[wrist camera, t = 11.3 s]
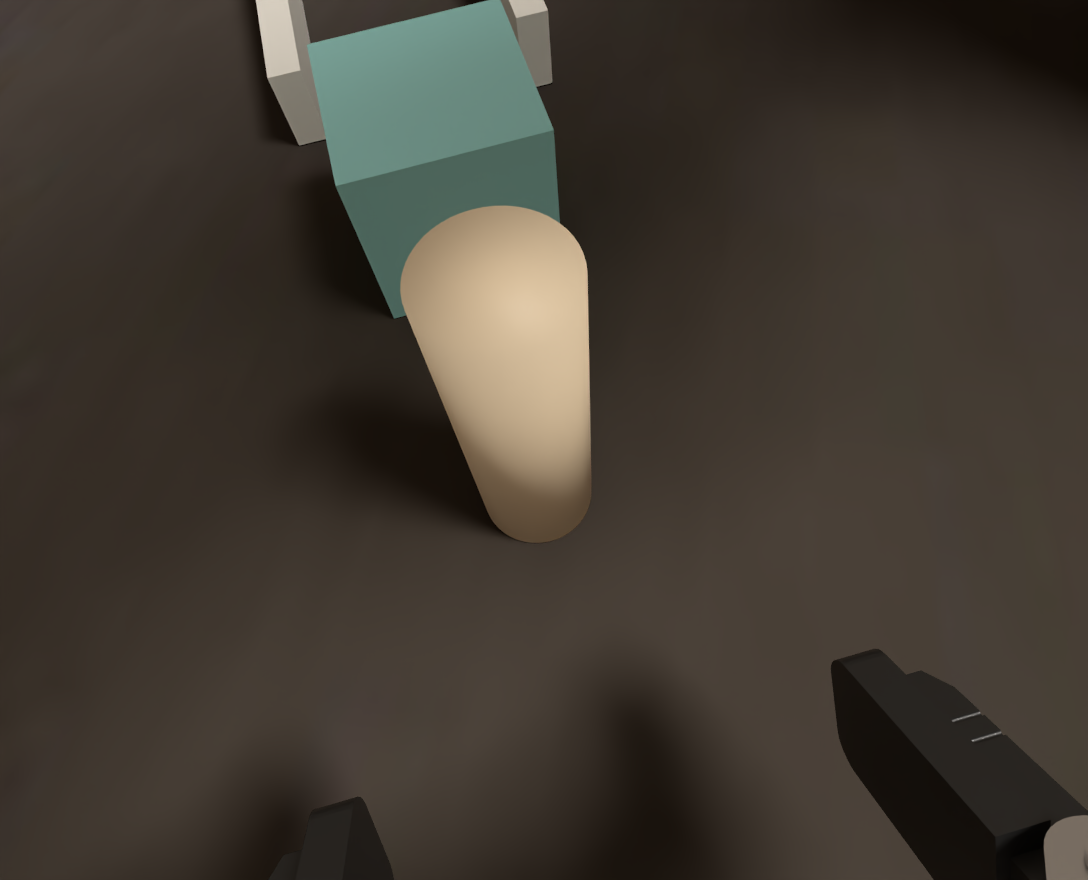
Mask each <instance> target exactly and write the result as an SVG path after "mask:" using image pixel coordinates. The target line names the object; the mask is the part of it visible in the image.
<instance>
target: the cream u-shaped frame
mask: <svg viewBox="0 0 1088 880" xmlns="http://www.w3.org/2000/svg"><path fill="white" fill-rule="evenodd" d="M501 2H502V5H503V7H504V10H505V12H506V15H507V17H508V20H509V22H510V24H511V27H512V29H513V32H514V34H515V37H516V39H517V42H518V44H519V46H520V49H521V51H522V54H523V56H524V59H525V61H526V63H527V66H528V68H529V71H530V73H531V76H532V78H533V81H534V83H535V85H536V87H538V86H542V85H546V84H550V83H552V67H551V51H550V36H549V20H548V9H547V7H546V5H545V3H544V0H501ZM256 5H257V11H258V18H259V25H260V32H261V38H262V45H263V52H264V59H265V65H266V72H267V78H268V81H269V83H270V85H271V87H272V89H273V91H274V93H275V95H276V98H277V100H278V102H279V104H280V106H281V108H282V110H283V112H284V114H285V117H286V119H287V121H288V123H289V125H290V127H291V129H292V131H293V134H294V136H295V138H296V140H297V142H298V144H299V146H300V145H304V144H308V143H312V142H316V141H320V140H324V139H326V137H325V132H324V127H323V122H322V117H321V112H320V107H319V102H318V97H317V92H316V88H315V83H314V78H313V73H312V68H311V63H310V58H309V53H308V48H307V45H308V44H310V38H309V33H308V28H307V23H306V18H305V13H304V8H303V3H302V0H256Z"/></svg>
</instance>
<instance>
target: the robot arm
mask: <svg viewBox="0 0 1088 880" xmlns="http://www.w3.org/2000/svg"><path fill="white" fill-rule="evenodd" d="M831 675H832V683H833V692H834V701H835V710H836V719H837V728H838V734H839V739H840V742H841V745H842V748H843V750H844V753H845V755H846V757H847V759H848V761H849V763H850V765H851V767H852V768H853V770H854V772H855V773H856V774H857V776H858V777H859V778H860V780H861V781H862V783H863V784H864V785H865V787H866V788H867V789H868V791H869V792H870V793H871V795H872V796H873V798H874V799H875V800H876V802H877V803H878V804H879V806H880V807H881V808H882V810H883V811H884V812H885V814H886V815H887V817H888V818H889V819H890V821H891V822H892V823H893V825H894V826H895V827H896V829H897V830H898V832H899V833H900V834H901V836H902V837H903V838H904V840H905V841H906V842H907V844H908V845H909V846H910V848H911V849H912V851H913V852H914V853H915V855H916V856H917V857H918V859H919V860H920V861H921V863H922V864H923V866H924V867H925V868H926V870H927V871H928V872H929V874H930V875H931V876H932V878H933V879H934V880H1088V811H1087V810H1086V809H1085V808H1084V807H1083V806H1082V805H1081V804H1080V803H1078V802H1077V801H1076V800H1075V799H1074V798H1073V797H1072V796H1071V795H1070V794H1069V793H1068V792H1067V791H1066V790H1064V789H1063V788H1062V787H1061V786H1060V785H1059V784H1058V783H1057V782H1056V781H1055V780H1054V779H1053V778H1052V777H1050V776H1049V775H1048V774H1047V773H1046V772H1045V771H1044V770H1043V769H1042V768H1041V767H1040V766H1039V765H1038V764H1037V763H1035V762H1034V761H1033V760H1032V759H1031V758H1030V757H1029V756H1028V755H1027V754H1026V753H1025V752H1024V751H1023V750H1021V749H1020V748H1019V747H1018V746H1017V745H1016V744H1015V743H1014V742H1013V741H1012V740H1011V739H1010V738H1009V737H1007V736H1006V735H1004V736H1003V735H1002V733H1001V731H1000V729H999V728H998V727H997V726H996V725H995V724H993V723H992V722H991V721H990V720H989V719H988V718H987V717H986V716H985V715H983V716H982V715H981V714H980V711H979V710H978V709H977V708H976V707H975V706H974V705H973V704H972V703H971V702H970V701H969V700H968V699H967V698H966V697H964V696H963V695H962V694H961V693H960V692H959V691H958V690H957V689H956V688H955V687H953V686H951V685H949V684H947V683H945V682H943V681H941V680H939V679H937V678H935V677H933V676H931V675H929V674H927V673H925V672H923V671H917V672H914V673H911V674H907V675H906V674H905V673H904V672H903V671H902V670H901V669H900V668H899V667H898V666H897V665H896V664H895V663H894V662H893V661H892V660H891V659H890V658H889V657H888V656H887V655H886V654H884V653H883V652H882V651H881V650H879V649H872V650H869V651H865V652H862V653H858V654H855V655H852V656H848V657H845V658H841V659H838V660H835V661H833V662H832V665H831ZM268 880H394V878H393V873H392V869H391V866H390V863H389V860H388V858H387V855H386V853H385V850H384V848H383V845H382V843H381V840H380V838H379V836H378V833H377V831H376V828H375V826H374V823H373V821H372V818H371V816H370V814H369V811H368V809H367V806H366V804H365V802H364V800H363V799H362V798H361V797H356V798H352V799H349V800H345V801H342V802H338V803H335V804H331V805H328V806H324V807H321V808H318V809H314V810H313V811H312V812H311V815H310V817H309V821H308V825H307V830H306V834H305V839H304V843H303V848H302V850H299V851H296V852H293V853H289V854H286V855H283V857H282V858H281V860H280V862H279V863H278V865H277V866H276V868H275V870H274V871H273V873H272V874H271V876H270V878H269V879H268Z"/></svg>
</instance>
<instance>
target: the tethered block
mask: <svg viewBox="0 0 1088 880" xmlns="http://www.w3.org/2000/svg"><path fill="white" fill-rule="evenodd" d="M307 48H308V53H309V58H310V63H311V68H312V73H313V78H314V83H315V88H316V92H317V97H318V102H319V107H320V112H321V117H322V122H323V127H324V132H325V137H326V142H327V147H328V152H329V156H330V161H331V166H332V171H333V176H334V181H335V186H336V188H337V191H338V193H339V195H340V197H341V200H342V202H343V204H344V206H345V209H346V211H347V213H348V215H349V218H350V220H351V222H352V225H353V227H354V229H355V231H356V234H357V236H358V238H359V240H360V243H361V245H362V247H363V249H364V252H365V254H366V256H367V258H368V261H369V263H370V265H371V268H372V270H373V272H374V274H375V277H376V279H377V281H378V283H379V286H380V288H381V290H382V292H383V295H384V297H385V299H386V301H387V304H388V306H389V308H390V310H391V313H392V315H393V317H394V319H395V318H398V317H402V316H406V315H407V318H408V320H409V322H410V325H411V327H412V330H413V332H414V335H415V337H416V339H417V342H418V344H419V347H420V349H421V352H422V354H423V356H424V359H425V361H426V364H427V366H428V369H429V371H430V373H431V376H432V378H433V381H434V383H435V386H436V388H437V390H438V393H439V395H440V398H441V400H442V403H443V405H444V407H445V410H446V412H447V415H448V417H449V420H450V422H451V424H452V427H453V429H454V432H455V434H456V437H457V439H458V441H459V444H460V446H461V449H462V451H463V454H464V456H465V458H466V461H467V463H468V466H469V468H470V471H471V473H472V475H473V478H474V480H475V483H476V485H477V488H478V490H479V492H480V495H481V497H482V500H483V502H484V505H485V507H486V509H487V512H488V514H489V516H490V518H491V519H492V521H493V522H494V524H495V525H496V526H497V527H498V528H499V529H500V530H501V531H502V532H504V533H505V534H507V535H508V536H510V537H512V538H514V539H516V540H520V541H523V542H529V543H544V542H549V541H553V540H556V539H559V538H561V537H563V536H565V535H566V534H568V533H569V532H571V531H572V530H573V529H574V528H575V527H577V525H578V524H579V523H580V522H581V521H582V519H583V518H584V516H585V515H586V512H587V510H588V508H589V505H590V501H591V435H590V381H589V327H588V273H587V265H586V260H585V257H584V254H583V251H582V249H581V247H580V245H579V243H578V242H577V241H576V239H575V238H574V236H573V235H572V234H571V233H570V232H569V231H568V230H567V229H566V228H565V227H564V226H562V225H561V224H560V216H559V201H558V186H557V171H556V156H555V141H554V129H553V127H552V125H551V122H550V120H549V117H548V115H547V112H546V110H545V107H544V105H543V103H542V100H541V98H540V95H539V93H538V90H537V88H536V85H535V83H534V81H533V78H532V76H531V73H530V71H529V68H528V66H527V63H526V61H525V59H524V56H523V54H522V51H521V49H520V46H519V44H518V42H517V39H516V37H515V34H514V32H513V29H512V27H511V24H510V22H509V20H508V17H507V15H506V12H505V10H504V7H503V5H502V2H501V0H487V1H483V2H479V3H475V4H471V5H467V6H463V7H459V8H455V9H451V10H447V11H442V12H438V13H434V14H430V15H426V16H422V17H418V18H414V19H410V20H406V21H402V22H398V23H393V24H389V25H385V26H381V27H377V28H373V29H369V30H365V31H361V32H357V33H353V34H349V35H344V36H340V37H336V38H332V39H328V40H324V41H320V42H316V43H312V44H308V45H307Z"/></svg>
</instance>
